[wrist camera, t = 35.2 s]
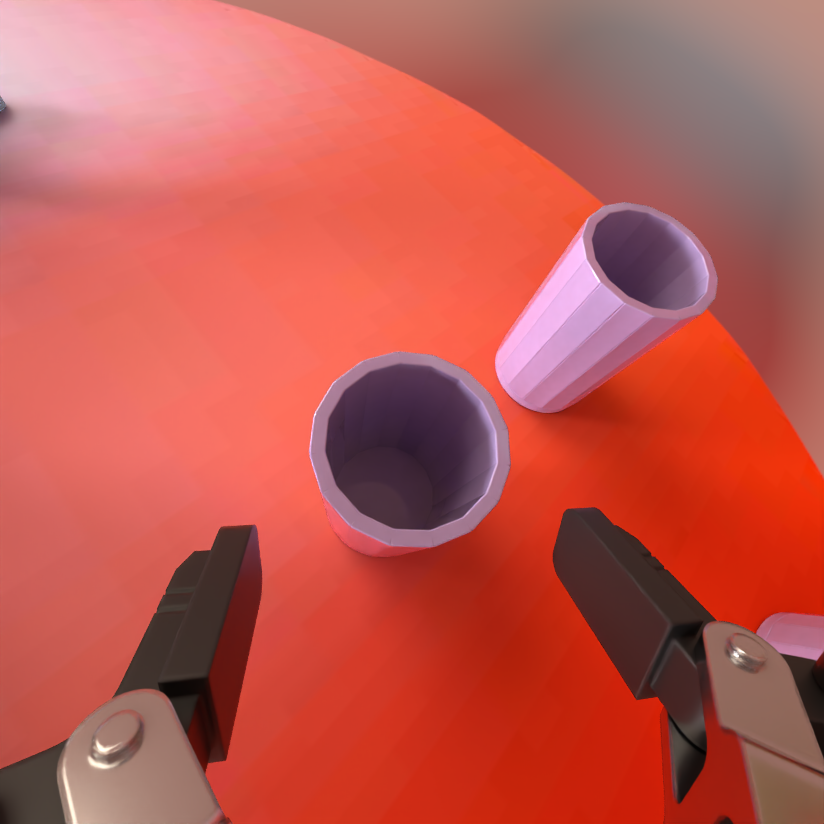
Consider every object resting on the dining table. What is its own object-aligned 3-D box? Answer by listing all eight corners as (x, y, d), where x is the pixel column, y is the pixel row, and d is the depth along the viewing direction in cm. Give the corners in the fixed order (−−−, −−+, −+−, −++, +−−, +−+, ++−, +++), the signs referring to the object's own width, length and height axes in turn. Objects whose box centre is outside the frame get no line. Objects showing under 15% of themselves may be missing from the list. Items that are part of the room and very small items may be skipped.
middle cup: (301, 493, 20) (266, 430, 11) (386, 422, 22) (416, 320, 13) (378, 583, 19) (411, 597, 10) (459, 500, 21) (548, 450, 12)
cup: (476, 364, 25) (555, 243, 16) (532, 315, 27) (631, 183, 18) (546, 432, 24) (674, 346, 15) (599, 375, 26) (740, 269, 17)
